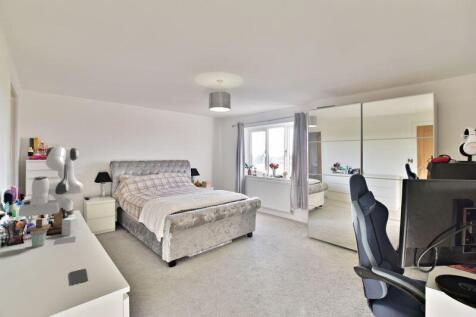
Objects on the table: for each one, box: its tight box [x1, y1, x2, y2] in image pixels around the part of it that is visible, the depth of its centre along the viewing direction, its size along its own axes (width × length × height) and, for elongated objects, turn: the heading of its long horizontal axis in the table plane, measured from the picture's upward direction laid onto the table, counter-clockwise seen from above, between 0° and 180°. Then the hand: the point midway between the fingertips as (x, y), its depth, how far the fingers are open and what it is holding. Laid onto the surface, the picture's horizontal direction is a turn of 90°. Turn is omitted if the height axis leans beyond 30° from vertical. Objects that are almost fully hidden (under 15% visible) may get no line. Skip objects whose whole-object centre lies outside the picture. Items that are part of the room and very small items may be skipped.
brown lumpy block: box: [46, 208, 66, 236], centre depth 178 cm, size 15×15×20 cm
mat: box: [53, 235, 76, 246], centre depth 160 cm, size 14×12×1 cm
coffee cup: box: [29, 230, 47, 249], centre depth 149 cm, size 8×9×12 cm
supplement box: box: [61, 217, 79, 237], centre depth 175 cm, size 7×7×13 cm
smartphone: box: [68, 268, 89, 286], centre depth 110 cm, size 7×1×15 cm
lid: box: [25, 218, 51, 233], centre depth 149 cm, size 11×11×6 cm
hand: (39, 221), depth 149 cm, fingers open, 8 cm apart
